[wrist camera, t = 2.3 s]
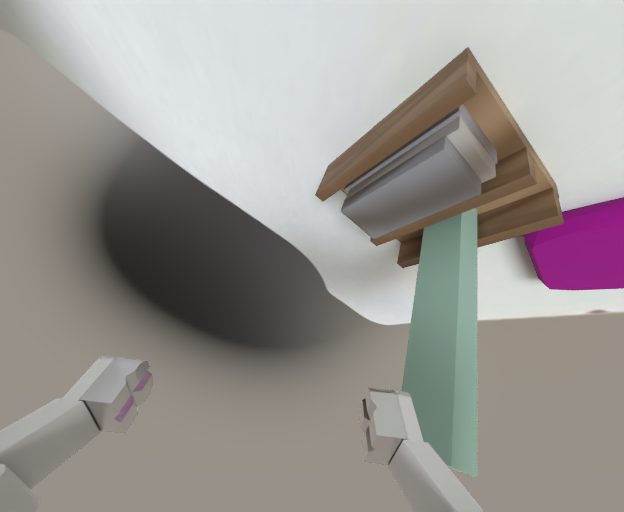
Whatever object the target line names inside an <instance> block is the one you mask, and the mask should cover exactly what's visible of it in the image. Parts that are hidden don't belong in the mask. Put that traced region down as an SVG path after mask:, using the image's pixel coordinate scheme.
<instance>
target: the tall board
mask: <svg viewBox="0 0 624 512" xmlns="http://www.w3.org/2000/svg"><path fill="white" fill-rule="evenodd" d="M402 392H408V393H409V394H410V396H411V399H412V402H413V406H414V409H415V413H416V416H417V420H418V423H419V427H420V430H421V434H422V437H423V441H424V442H428V443H429V444H430V446H431V447H432V448H433V449H434V450H435V452H436V453H437V454H438V455H439V457H440V458H441V459H442V460H443V462H444V463H445V464H446V465H447V467H449V468H451V469H454V470H457V471H460V472H462V473H465V474H468V475H471V476H474V477H477V210H476V208H474V209H471V210H469V211H466V212H463V213H461V214H458V215H456V216H453V217H450V218H448V219H445V220H443V221H440V222H438V223H435V224H432V225H430V226H427V227H425V228H424V231H423V238H422V245H421V253H420V260H419V267H418V275H417V282H416V289H415V296H414V304H413V311H412V318H411V326H410V333H409V341H408V348H407V355H406V362H405V370H404V377H403V384H402Z"/></svg>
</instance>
